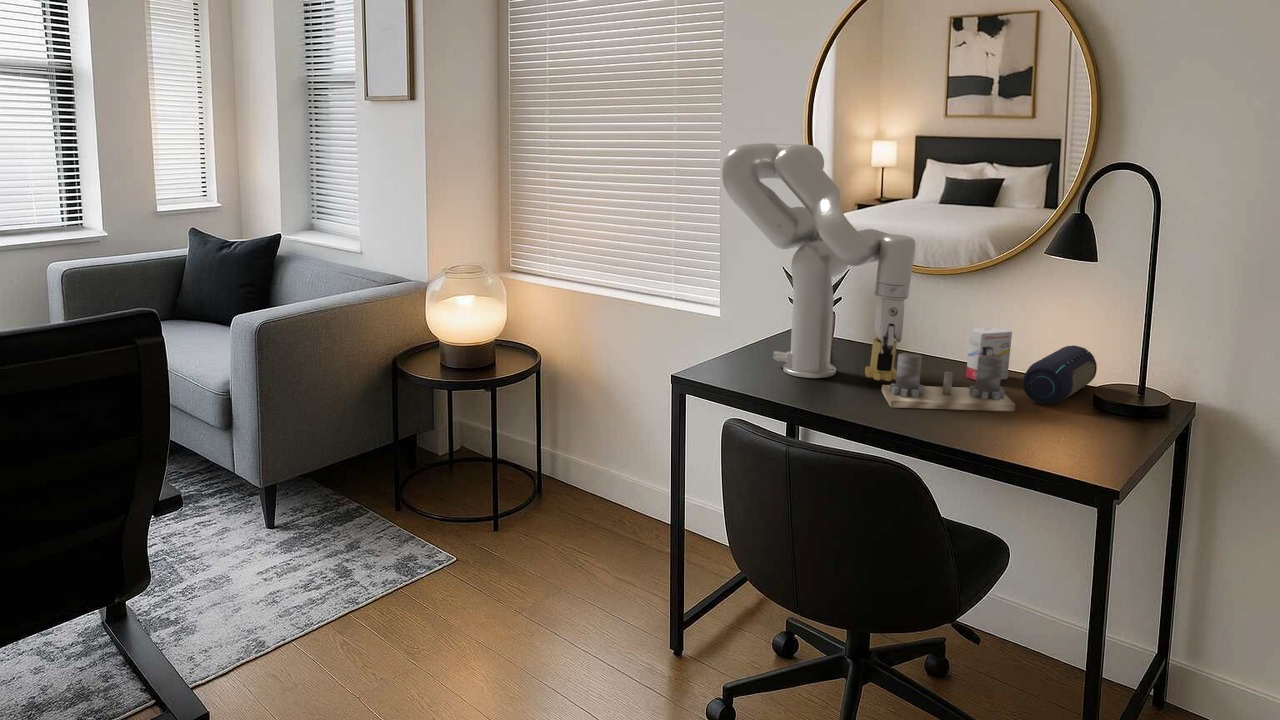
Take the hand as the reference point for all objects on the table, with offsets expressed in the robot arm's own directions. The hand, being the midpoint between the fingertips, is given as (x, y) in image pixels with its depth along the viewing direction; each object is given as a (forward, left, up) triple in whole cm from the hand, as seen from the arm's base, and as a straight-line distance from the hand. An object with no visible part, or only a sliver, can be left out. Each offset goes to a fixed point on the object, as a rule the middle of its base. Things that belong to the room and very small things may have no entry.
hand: (881, 365), depth 225 cm
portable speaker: (+38, +8, -5) cm, 39 cm away
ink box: (+22, +16, -5) cm, 28 cm away
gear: (0, 0, -2) cm, 2 cm away
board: (+15, -7, -4) cm, 18 cm away
